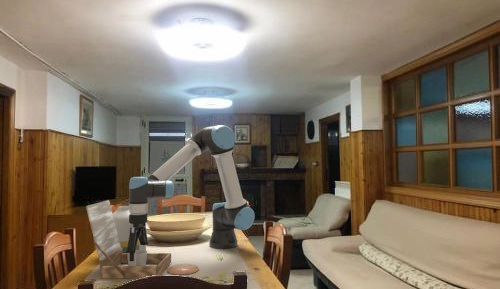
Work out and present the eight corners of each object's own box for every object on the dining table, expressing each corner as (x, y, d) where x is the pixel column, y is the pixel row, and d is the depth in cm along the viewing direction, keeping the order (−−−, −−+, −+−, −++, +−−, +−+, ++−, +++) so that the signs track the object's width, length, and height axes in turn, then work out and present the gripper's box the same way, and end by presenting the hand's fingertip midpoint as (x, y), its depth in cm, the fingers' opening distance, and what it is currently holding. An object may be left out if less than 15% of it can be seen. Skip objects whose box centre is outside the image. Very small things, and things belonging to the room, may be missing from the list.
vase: (121, 263, 170) (122, 209, 171) (98, 258, 179) (98, 207, 180) (150, 255, 185) (150, 205, 186) (127, 251, 194) (127, 203, 195)
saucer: (200, 266, 165) (200, 264, 165) (195, 274, 152) (195, 272, 152) (171, 266, 165) (171, 264, 165) (163, 274, 152) (163, 272, 152)
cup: (131, 267, 164) (131, 248, 165) (149, 266, 165) (149, 248, 165) (125, 274, 153) (125, 254, 154) (145, 273, 154) (145, 254, 154)
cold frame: (171, 263, 170) (171, 199, 171) (157, 279, 147) (157, 205, 148) (107, 263, 170) (107, 200, 172) (83, 279, 147) (84, 206, 149)
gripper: (138, 209, 173) (138, 257, 172) (118, 217, 148) (117, 272, 147) (155, 209, 173) (154, 257, 172) (137, 217, 148) (137, 273, 147)
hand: (137, 264), depth 159 cm, fingers open, 13 cm apart
